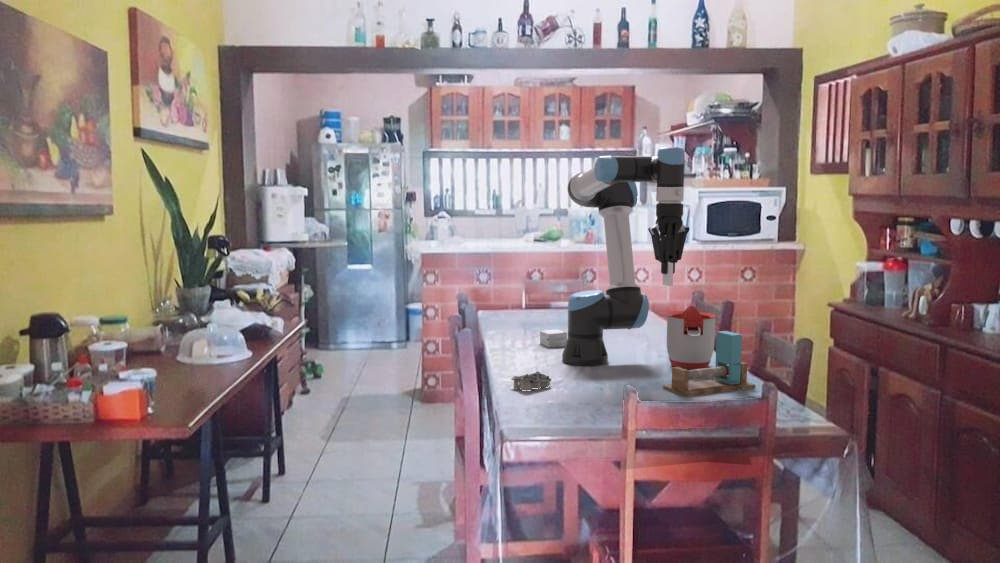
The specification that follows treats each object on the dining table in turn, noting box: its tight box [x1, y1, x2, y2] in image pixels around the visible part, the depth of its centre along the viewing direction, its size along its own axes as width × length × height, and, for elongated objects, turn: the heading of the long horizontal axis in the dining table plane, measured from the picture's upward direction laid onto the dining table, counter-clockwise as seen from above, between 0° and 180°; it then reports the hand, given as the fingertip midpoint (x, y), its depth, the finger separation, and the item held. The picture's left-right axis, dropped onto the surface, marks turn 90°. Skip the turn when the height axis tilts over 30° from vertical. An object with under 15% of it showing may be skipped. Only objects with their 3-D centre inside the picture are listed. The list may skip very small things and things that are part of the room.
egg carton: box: [510, 370, 553, 391], centre depth 217 cm, size 11×8×4 cm
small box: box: [539, 328, 568, 348], centre depth 280 cm, size 8×8×5 cm
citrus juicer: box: [666, 304, 717, 370], centre depth 243 cm, size 16×17×20 cm
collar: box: [714, 330, 743, 385], centre depth 218 cm, size 4×7×14 cm, turn 25°
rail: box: [662, 361, 756, 398], centre depth 216 cm, size 25×10×7 cm, turn 115°
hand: (667, 285), depth 216 cm, fingers closed
